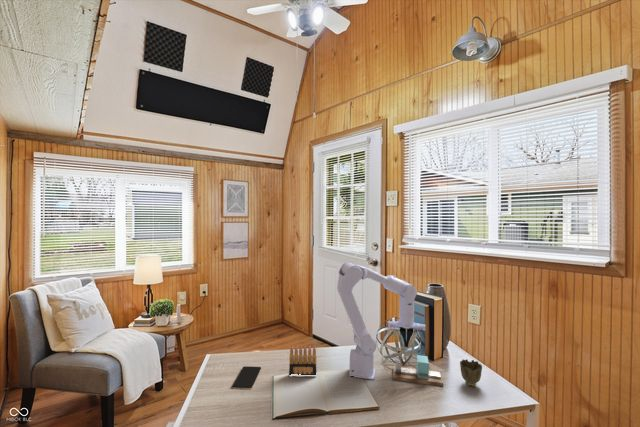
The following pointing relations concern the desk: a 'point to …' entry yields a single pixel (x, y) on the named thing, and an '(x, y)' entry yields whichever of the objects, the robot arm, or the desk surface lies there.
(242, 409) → the desk surface
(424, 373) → the block
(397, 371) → the rail
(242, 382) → the smartphone
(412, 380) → the mounting board
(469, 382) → the cup
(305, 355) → the ammunition clip
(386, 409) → the desk surface
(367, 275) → the robot arm
